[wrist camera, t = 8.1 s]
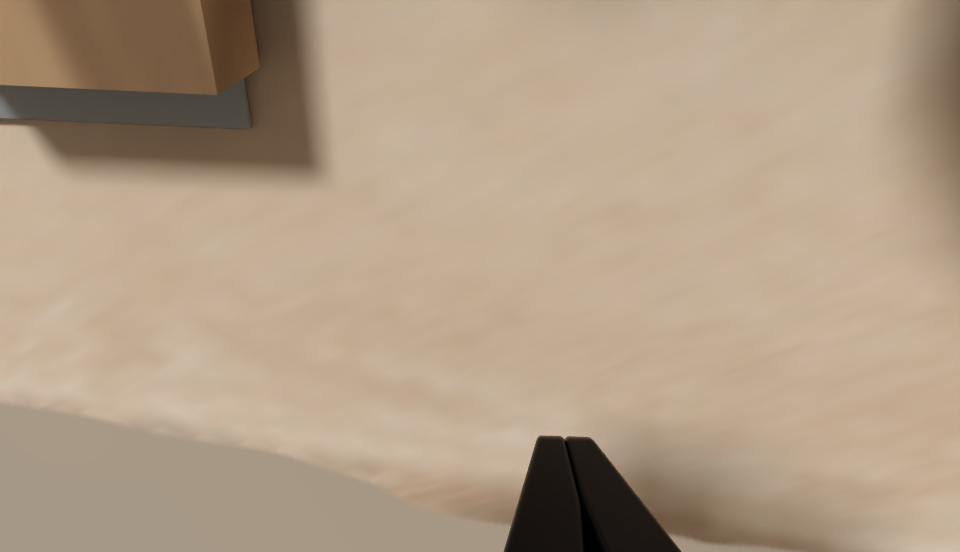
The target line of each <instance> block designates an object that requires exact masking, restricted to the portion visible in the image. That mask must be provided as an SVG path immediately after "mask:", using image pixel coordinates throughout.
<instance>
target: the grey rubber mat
mask: <svg viewBox="0 0 960 552" xmlns="http://www.w3.org/2000/svg"><path fill="white" fill-rule="evenodd" d="M0 118H10V119H32V120H54V121H76V122H98V123H120V124H142V125H164V126H186V127H208V128H230V129H250V128H251V127H252V125H251V118H250V112H249V106H248V99H247V93H246V86H245V80H244V78H243V79H242V80H240V81H239V82H237V83H236V84H234V85H232V86H231V87H229V88H228V89H226V90H225V91H223V92H221V93H220V94H218V95H206V94H185V93H163V92H142V91H120V90H99V89H77V88H56V87H34V86H13V85H0Z"/></svg>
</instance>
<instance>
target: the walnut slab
mask: <svg viewBox="0 0 960 552" xmlns="http://www.w3.org/2000/svg"><path fill="white" fill-rule="evenodd" d="M259 68H260V64H259V57H258V50H257V43H256V36H255V29H254V22H253V15H252V8H251V1H250V0H0V85H13V86H34V87H56V88H77V89H99V90H120V91H142V92H163V93H185V94H206V95H218V94H220V93H221V92H223V91H225V90H226V89H228V88H229V87H231V86H232V85H234V84H236V83H237V82H239V81H240V80H242V79H243V78H245V77H246V76H248V75H250V74H251V73H253V72H254V71H256V70H257V69H259Z"/></svg>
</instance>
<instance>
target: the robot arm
mask: <svg viewBox="0 0 960 552" xmlns="http://www.w3.org/2000/svg"><path fill="white" fill-rule="evenodd" d="M504 552H681V550H680V549H679V548H678V547H677V545H676V544H675V543H674V542H673V540H672V539H671V538H670V537H669V535H668V534H667V533H666V531H665V530H664V529H663V528H662V526H661V525H660V524H659V523H658V521H657V520H656V519H655V518H654V516H653V515H652V514H651V512H650V511H649V510H648V509H647V507H646V506H645V505H644V504H643V502H642V501H641V500H640V499H639V497H638V496H637V495H636V493H635V492H634V491H633V490H632V488H631V487H630V486H629V485H628V483H627V482H626V481H625V480H624V478H623V477H622V476H621V474H620V473H619V472H618V471H617V469H616V468H615V467H614V466H613V464H612V463H611V462H610V461H609V459H608V458H607V457H606V455H605V454H604V453H603V452H602V450H601V449H600V448H599V447H598V445H597V444H596V443H595V442H594V440H592V439H591V438H589V437H571V436H569V437H566V438H565V439H563V437H561V436H539V437H538V438H537V441H536V444H535V447H534V451H533V454H532V457H531V461H530V464H529V467H528V471H527V474H526V478H525V481H524V484H523V488H522V491H521V495H520V498H519V501H518V505H517V508H516V512H515V515H514V518H513V522H512V525H511V529H510V532H509V536H508V539H507V542H506V546H505V549H504Z"/></svg>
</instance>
